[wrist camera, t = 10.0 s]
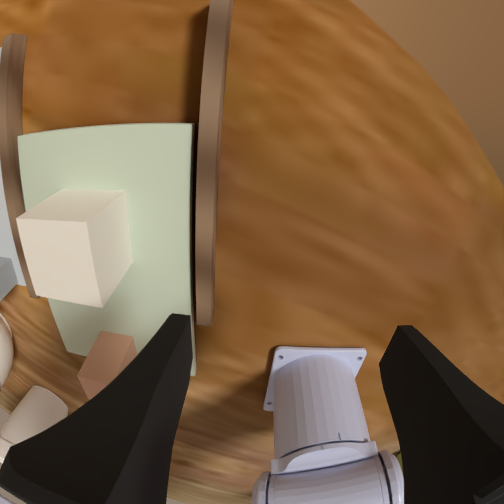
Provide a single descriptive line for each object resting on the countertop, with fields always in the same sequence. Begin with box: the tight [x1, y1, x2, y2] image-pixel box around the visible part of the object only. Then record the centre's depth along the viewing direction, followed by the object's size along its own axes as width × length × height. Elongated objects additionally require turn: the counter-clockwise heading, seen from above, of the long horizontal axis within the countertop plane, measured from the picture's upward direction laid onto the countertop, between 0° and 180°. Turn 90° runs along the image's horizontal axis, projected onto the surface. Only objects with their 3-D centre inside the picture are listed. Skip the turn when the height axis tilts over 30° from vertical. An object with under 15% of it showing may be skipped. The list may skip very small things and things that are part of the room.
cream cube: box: [16, 190, 133, 308], centre depth 16 cm, size 5×5×5 cm
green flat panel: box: [18, 123, 196, 400], centre depth 18 cm, size 20×13×6 cm, turn 175°
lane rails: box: [0, 0, 233, 326], centre depth 16 cm, size 21×23×2 cm
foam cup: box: [0, 385, 68, 464], centre depth 26 cm, size 10×9×13 cm
